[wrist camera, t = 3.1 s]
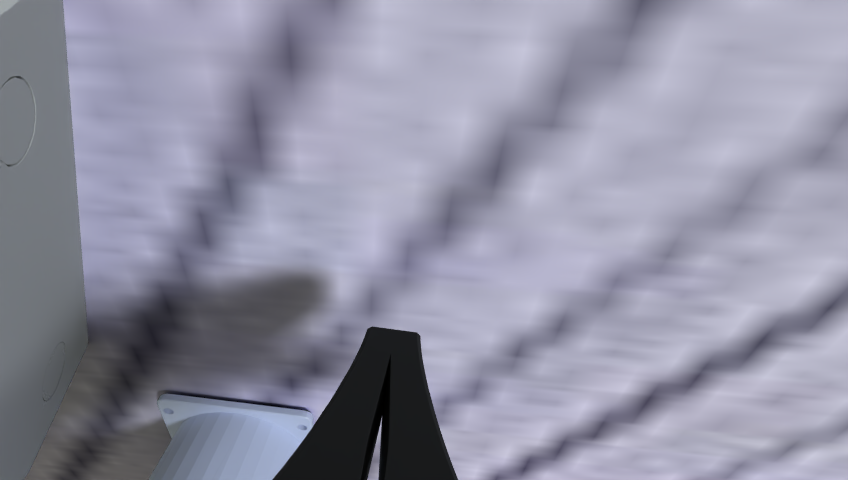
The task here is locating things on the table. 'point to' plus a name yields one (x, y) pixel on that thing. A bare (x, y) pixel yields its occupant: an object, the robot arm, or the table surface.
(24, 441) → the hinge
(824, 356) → the table surface
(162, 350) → the table surface
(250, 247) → the table surface
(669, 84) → the table surface
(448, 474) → the robot arm
